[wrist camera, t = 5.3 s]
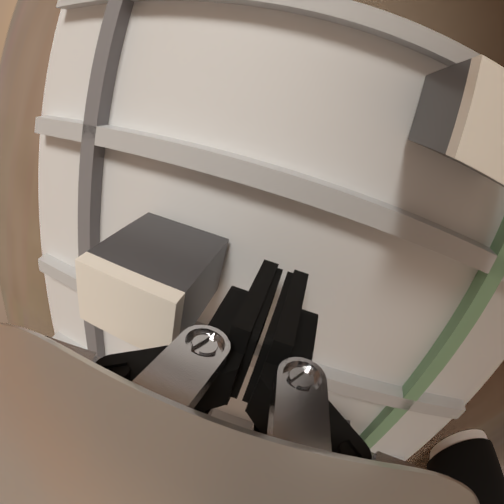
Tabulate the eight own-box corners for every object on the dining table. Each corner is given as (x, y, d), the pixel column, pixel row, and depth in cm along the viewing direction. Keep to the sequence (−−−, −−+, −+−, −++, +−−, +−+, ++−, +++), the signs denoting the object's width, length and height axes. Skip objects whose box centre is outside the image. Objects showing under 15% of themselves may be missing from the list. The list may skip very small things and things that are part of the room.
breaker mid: (148, 212, 13) (74, 259, 9) (228, 239, 12) (176, 303, 8) (143, 261, 14) (80, 317, 10) (217, 289, 14) (169, 362, 9)
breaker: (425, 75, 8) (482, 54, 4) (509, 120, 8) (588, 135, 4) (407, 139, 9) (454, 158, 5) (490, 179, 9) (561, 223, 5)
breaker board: (84, -2, 11) (54, -9, 9) (584, 148, 8) (612, 157, 6) (67, 327, 21) (49, 344, 19) (400, 447, 18) (401, 473, 16)
